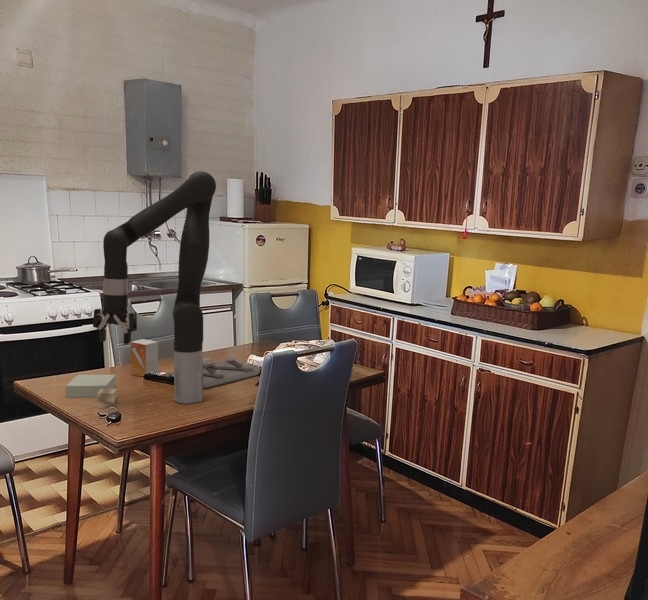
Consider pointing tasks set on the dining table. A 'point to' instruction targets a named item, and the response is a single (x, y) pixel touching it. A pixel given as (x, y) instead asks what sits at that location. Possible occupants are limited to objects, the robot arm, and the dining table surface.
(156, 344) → the small box
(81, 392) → the plate
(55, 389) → the dining table surface
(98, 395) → the maple cube
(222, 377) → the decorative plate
